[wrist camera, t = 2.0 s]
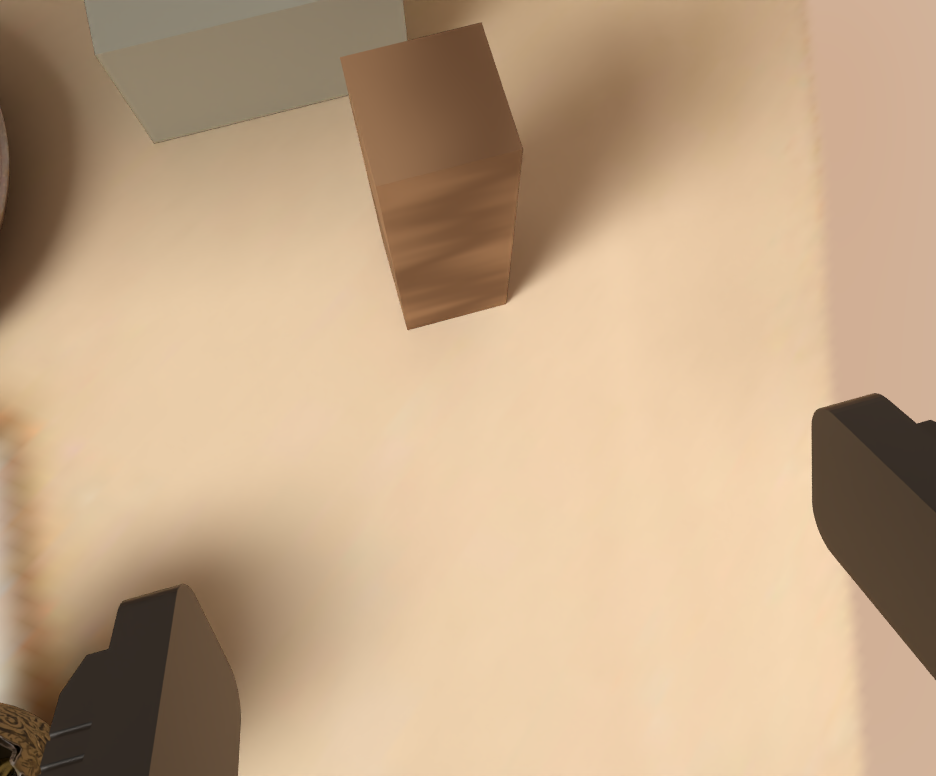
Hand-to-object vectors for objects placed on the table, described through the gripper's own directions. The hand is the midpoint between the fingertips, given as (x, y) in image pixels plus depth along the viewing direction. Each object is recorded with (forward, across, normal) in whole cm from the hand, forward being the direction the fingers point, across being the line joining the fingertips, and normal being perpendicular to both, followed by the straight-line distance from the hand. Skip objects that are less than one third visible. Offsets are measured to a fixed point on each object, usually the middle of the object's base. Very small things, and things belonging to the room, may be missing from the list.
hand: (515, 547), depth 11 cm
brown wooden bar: (+24, -2, +6) cm, 25 cm away
